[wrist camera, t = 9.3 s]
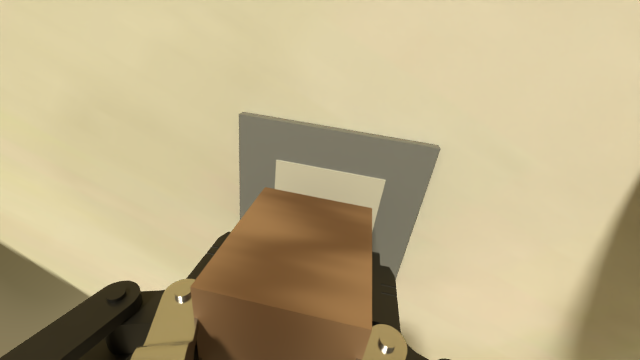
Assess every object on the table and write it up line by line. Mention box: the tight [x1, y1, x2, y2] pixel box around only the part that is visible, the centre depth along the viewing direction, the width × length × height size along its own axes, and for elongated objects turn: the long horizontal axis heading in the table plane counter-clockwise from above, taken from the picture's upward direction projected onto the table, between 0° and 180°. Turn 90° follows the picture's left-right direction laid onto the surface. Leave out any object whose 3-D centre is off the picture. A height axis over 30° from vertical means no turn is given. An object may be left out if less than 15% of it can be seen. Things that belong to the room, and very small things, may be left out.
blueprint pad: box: [239, 112, 440, 280], centre depth 16 cm, size 10×10×1 cm
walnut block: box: [190, 187, 372, 360], centre depth 11 cm, size 5×5×6 cm
